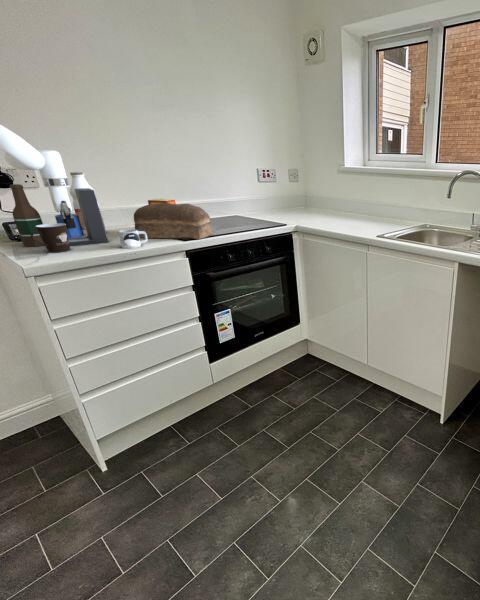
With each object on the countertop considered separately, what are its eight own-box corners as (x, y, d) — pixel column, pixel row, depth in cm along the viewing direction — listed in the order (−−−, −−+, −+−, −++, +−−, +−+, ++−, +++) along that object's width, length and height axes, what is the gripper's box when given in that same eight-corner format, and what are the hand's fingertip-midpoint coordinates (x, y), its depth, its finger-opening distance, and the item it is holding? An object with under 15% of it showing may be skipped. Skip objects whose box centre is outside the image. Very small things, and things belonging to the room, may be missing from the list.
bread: (203, 240, 164) (197, 205, 159) (132, 238, 162) (123, 203, 157) (216, 234, 178) (211, 202, 172) (151, 232, 176) (144, 200, 170)
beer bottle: (50, 242, 150) (30, 183, 142) (49, 245, 145) (28, 185, 136) (24, 244, 146) (2, 183, 137) (22, 248, 140) (-1, 185, 131)
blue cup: (62, 238, 145) (55, 216, 142) (60, 236, 149) (53, 214, 146) (85, 236, 150) (79, 215, 147) (82, 234, 154) (76, 213, 151)
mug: (126, 249, 144) (121, 232, 142) (118, 246, 147) (114, 230, 145) (152, 245, 152) (149, 229, 149) (145, 242, 155) (141, 227, 153)
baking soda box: (180, 230, 184) (174, 198, 179) (173, 232, 178) (166, 200, 173) (162, 229, 185) (156, 198, 179) (154, 231, 178) (147, 199, 173)
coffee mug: (68, 247, 144) (61, 222, 140) (77, 250, 139) (69, 225, 136) (30, 252, 134) (20, 226, 131) (38, 255, 130) (29, 229, 126)
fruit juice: (94, 235, 165) (76, 172, 155) (76, 234, 166) (57, 172, 156) (111, 232, 174) (95, 172, 164) (94, 231, 175) (77, 171, 165)
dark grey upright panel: (59, 247, 143) (41, 191, 135) (55, 242, 151) (38, 189, 143) (108, 242, 154) (94, 190, 146) (103, 237, 162) (89, 188, 154)
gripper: (41, 181, 144) (55, 225, 151) (45, 184, 134) (60, 230, 140) (65, 181, 150) (78, 223, 156) (71, 184, 139) (84, 228, 145)
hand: (69, 226), depth 148 cm, fingers closed on blue cup, 7 cm apart
